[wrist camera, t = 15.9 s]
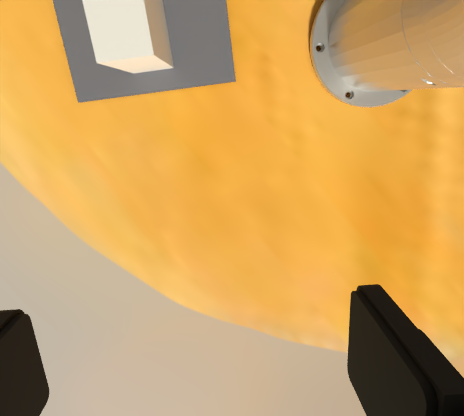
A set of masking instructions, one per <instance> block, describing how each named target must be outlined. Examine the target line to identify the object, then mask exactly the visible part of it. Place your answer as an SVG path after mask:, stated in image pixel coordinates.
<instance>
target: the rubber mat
mask: <svg viewBox="0 0 464 416" xmlns="http://www.w3.org/2000/svg"><path fill="white" fill-rule="evenodd" d="M162 1H163V6H164V12H165V18H166V24H167V30H168V36H169V42H170V48H171V54H172V60H173V66H174V68H170V69H163V70H156V71H148V72H141V73H130V72H127V71H123V70H120V69H116V68H113V67H109V66H106V65H102V64H99V63H97V62H96V58H95V54H94V49H93V45H92V41H91V36H90V32H89V27H88V23H87V19H86V14H85V10H84V6H83V1H82V0H53V3H54V7H55V11H56V15H57V19H58V23H59V27H60V31H61V35H62V39H63V43H64V47H65V51H66V56H67V60H68V64H69V68H70V72H71V76H72V80H73V84H74V88H75V92H76V96H77V100H78V102H87V101H94V100H102V99H109V98H117V97H124V96H131V95H139V94H146V93H154V92H161V91H169V90H176V89H183V88H191V87H198V86H206V85H213V84H220V83H228V82H235V81H236V80H235V72H234V63H233V55H232V47H231V38H230V30H229V21H228V13H227V4H226V0H162Z"/></svg>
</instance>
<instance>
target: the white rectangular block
mask: <svg viewBox="0 0 464 416" xmlns="http://www.w3.org/2000/svg"><path fill="white" fill-rule="evenodd" d="M82 1H83V6H84V10H85V14H86V19H87V23H88V27H89V32H90V36H91V41H92V45H93V49H94V54H95V58H96V62H97V63H99V64H102V65H106V66H109V67H113V68H116V69H120V70H123V71H127V72H130V73H141V72H148V71H156V70H163V69H170V68H174V66H173V60H172V54H171V48H170V42H169V36H168V30H167V24H166V18H165V12H164V6H163V1H162V0H82Z"/></svg>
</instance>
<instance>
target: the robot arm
mask: <svg viewBox="0 0 464 416" xmlns="http://www.w3.org/2000/svg"><path fill="white" fill-rule="evenodd" d="M317 46H319V47H320V51H317V50H316V47H317ZM310 55H311V61H312V66H313V68H314V71H315V73H316V76H317V78H318V79H319V81H320V82H321V84H322V86H323V87H324V88H325V89H326V90H327V91H328V92H329V93H330V94H331V95H332V96H334V97H335V98H337V99H338V100H340V101H341V102H344V103H346V104H349V105H352V106H358V107H378V106H383V105H386V104H389V103H392V102H395V101H397V100H398V99H400V98H402V97H404V96H405V95H407V94H408V93H409V92H410V91H412V90H413V89H435V88H457V87H464V0H324V1H323V2H322V4H321V6H320V8H319V10H318V11H317V13H316V16H315V19H314V22H313V25H312V30H311V36H310ZM347 92H348V93H349V96H348V97H346V96H345V95H346V93H347ZM347 366H348V374H349V378H350V381H351V383H352V385H353V387H354V389H355V391H356V394H357V396H358V398H359V400H360V402H361V404H362V407H363V409H364V411H365V413H366V415H367V416H464V378H463V377H462V376H461V375H460V373H459V372H458V371H457V370H456V369H455V368H454V367H453V366H452V364H451V363H450V362H449V361H448V360H447V359H446V357H445V356H444V355H443V354H442V353H441V352H440V351H439V349H438V348H437V347H436V346H435V345H434V344H433V343H432V341H431V340H430V339H429V338H428V337H427V336H426V335H425V333H423V332H422V331H421V330H420V329H417V327H416V326H415V325H414V324H413V323H412V322H411V320H410V319H409V318H408V317H407V316H406V315H405V313H404V312H403V311H402V310H401V309H400V308H399V307H398V305H397V304H396V303H395V302H394V301H393V300H392V298H391V297H390V296H389V295H388V294H387V293H386V292H385V290H384V289H383V288H382V287H381V286H380V285H378V284H376V285H362V286H358V287H357V291H352V293H351V303H350V324H349V345H348V365H347ZM48 397H49V387H48V383H47V379H46V375H45V372H44V368H43V364H42V361H41V356H40V353H39V349H38V345H37V342H36V338H35V334H34V330H33V326H32V323H31V319H30V317H29V316H28V314H24V312H23V311H22V310H20V309H18V310H3V311H0V416H39V415H40V414H41V412H42V410H43V408H44V407H45V405H46V403H47V400H48Z"/></svg>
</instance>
